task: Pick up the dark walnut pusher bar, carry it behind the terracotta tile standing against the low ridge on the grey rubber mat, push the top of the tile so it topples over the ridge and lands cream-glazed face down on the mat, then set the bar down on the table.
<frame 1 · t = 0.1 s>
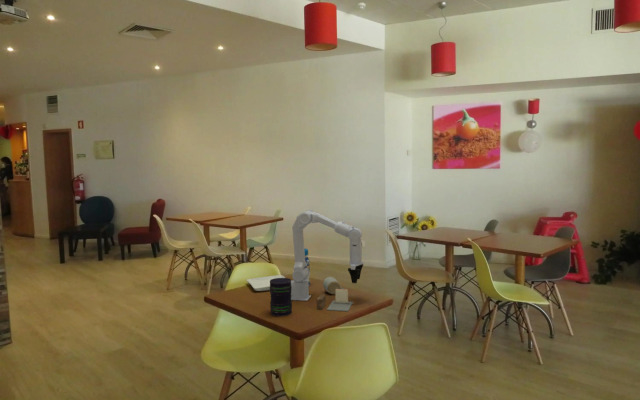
hand: (355, 281, 228), 10 cm above the table, tool pointing down, fingers open, 7 cm apart
pusher bar: (321, 307, 221), on the table
ceramic mug: (334, 293, 245), on the table
storage jar: (281, 313, 214), on the table
tile: (341, 302, 225), resting on mat
salad plate: (268, 287, 259), on the table
beverage bottle: (302, 285, 260), on the table
mat: (340, 306, 222), on the table
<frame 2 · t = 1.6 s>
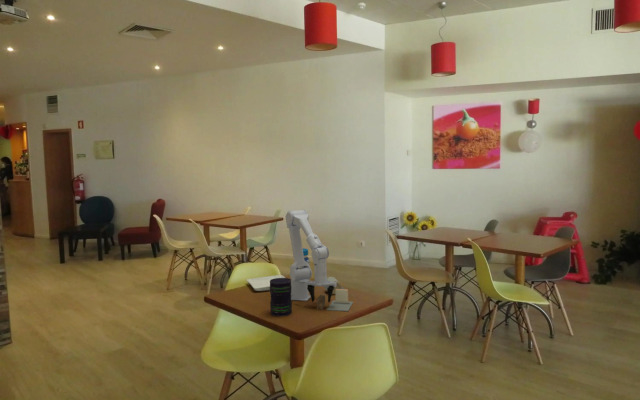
hand: (321, 301, 220), 3 cm above the table, tool pointing down, fingers open, 7 cm apart
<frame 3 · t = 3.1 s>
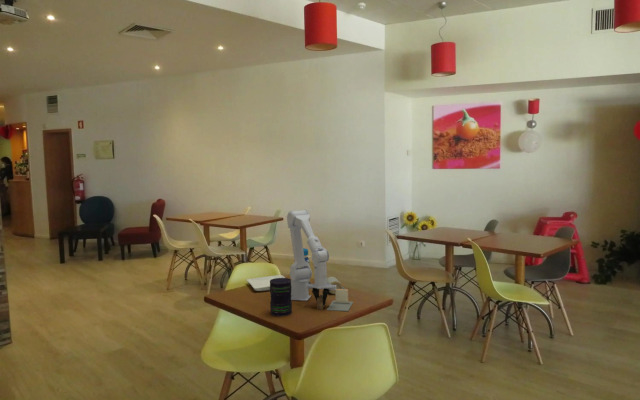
hand: (321, 304, 221), 1 cm above the table, tool pointing down, fingers closed on pusher bar, 2 cm apart
pusher bar: (321, 307, 221), on the table, touching gripper
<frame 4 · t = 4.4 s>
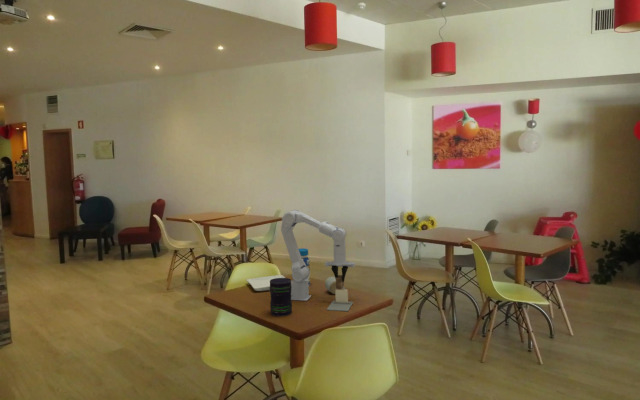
hand: (340, 281, 228), 10 cm above the table, tool pointing down, fingers closed on pusher bar, 2 cm apart
pusher bar: (340, 286, 228), point 7 cm above the table, touching gripper
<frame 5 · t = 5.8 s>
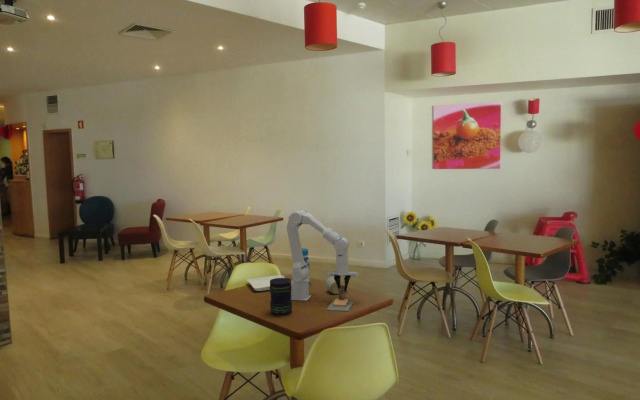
hand: (342, 290, 227), 6 cm above the table, tool pointing down, fingers closed on pusher bar, 2 cm apart
pusher bar: (342, 297, 227), point 2 cm above the table, touching gripper
tile: (341, 300, 225), point 2 cm above the table, tilted 97°
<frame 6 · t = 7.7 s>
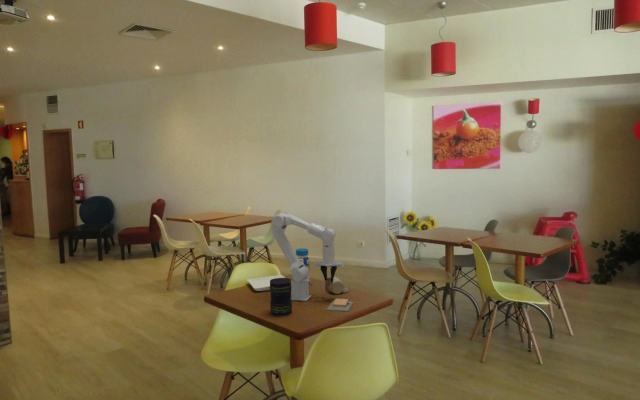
hand: (329, 281, 230), 10 cm above the table, tool pointing down, fingers closed on pusher bar, 2 cm apart
pusher bar: (329, 289, 231), point 5 cm above the table, touching gripper
tile: (341, 300, 225), point 2 cm above the table, tilted 97°, touching mat
when the fingers open (2 cm above the table, at t = 8.7 s): pusher bar stays where it is, on the table.
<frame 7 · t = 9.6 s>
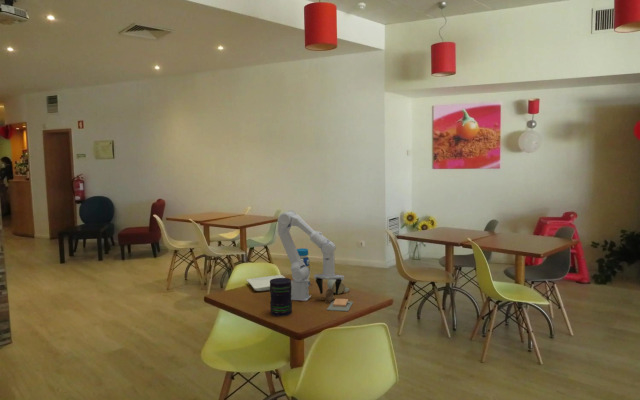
hand: (329, 293, 231), 3 cm above the table, tool pointing down, fingers open, 7 cm apart
pusher bar: (329, 300, 231), on the table
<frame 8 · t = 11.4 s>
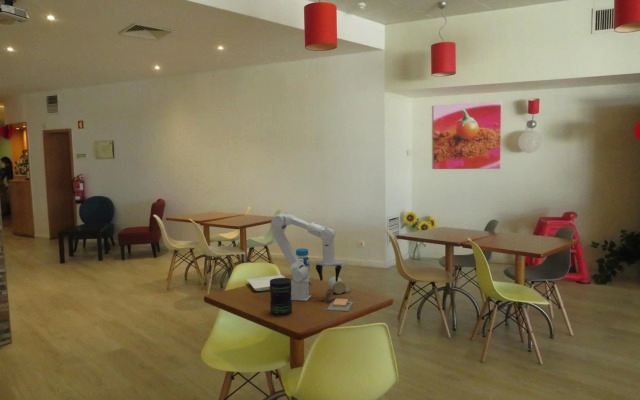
hand: (329, 280, 230), 10 cm above the table, tool pointing down, fingers open, 7 cm apart
at the end: tile tilted 97°; tile inside the target area (4.5 cm from its centre), point 1.8 cm above the table; the gripper is holding nothing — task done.
